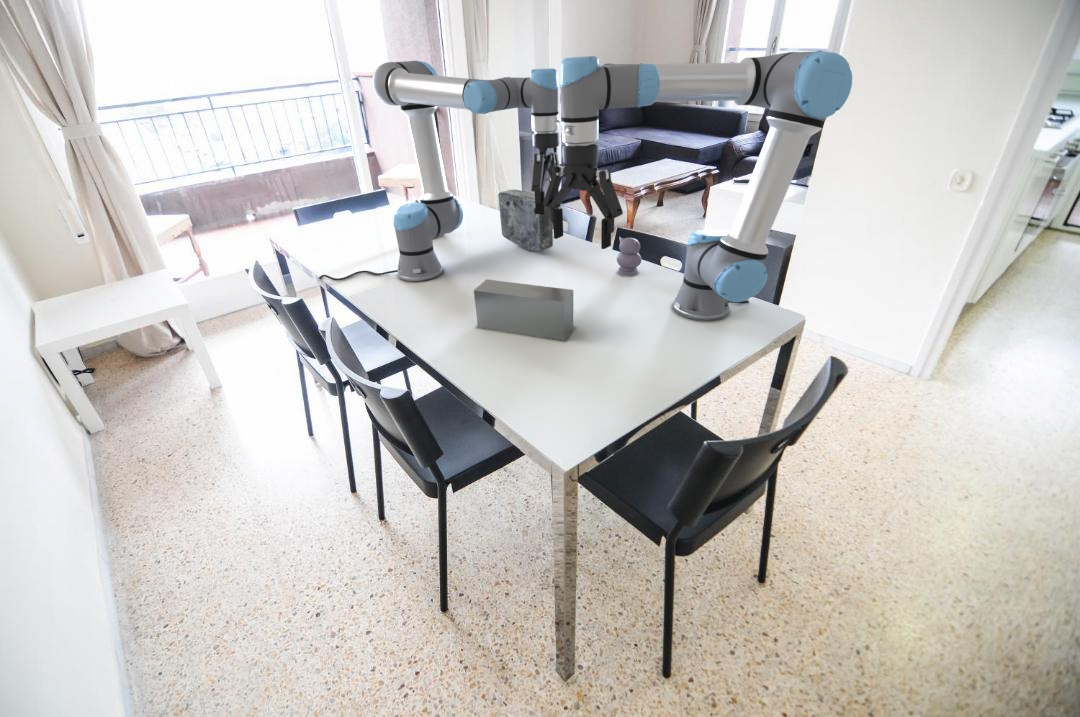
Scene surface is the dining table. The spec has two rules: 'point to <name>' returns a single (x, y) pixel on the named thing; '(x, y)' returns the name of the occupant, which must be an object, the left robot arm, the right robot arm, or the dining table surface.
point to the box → (524, 309)
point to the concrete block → (525, 221)
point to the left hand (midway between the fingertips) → (547, 208)
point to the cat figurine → (628, 256)
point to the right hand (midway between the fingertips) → (581, 242)
